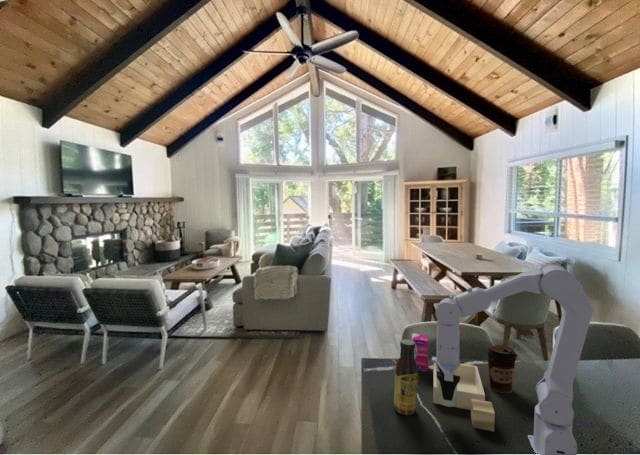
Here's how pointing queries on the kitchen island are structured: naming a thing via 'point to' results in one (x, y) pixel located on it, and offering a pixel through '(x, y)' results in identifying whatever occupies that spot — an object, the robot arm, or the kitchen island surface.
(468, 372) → the box
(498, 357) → the coffee cup
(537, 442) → the robot arm
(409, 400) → the sauce bottle
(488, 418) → the oak cube
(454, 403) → the sage cylinder
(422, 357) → the supplement box
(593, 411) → the kitchen island surface
